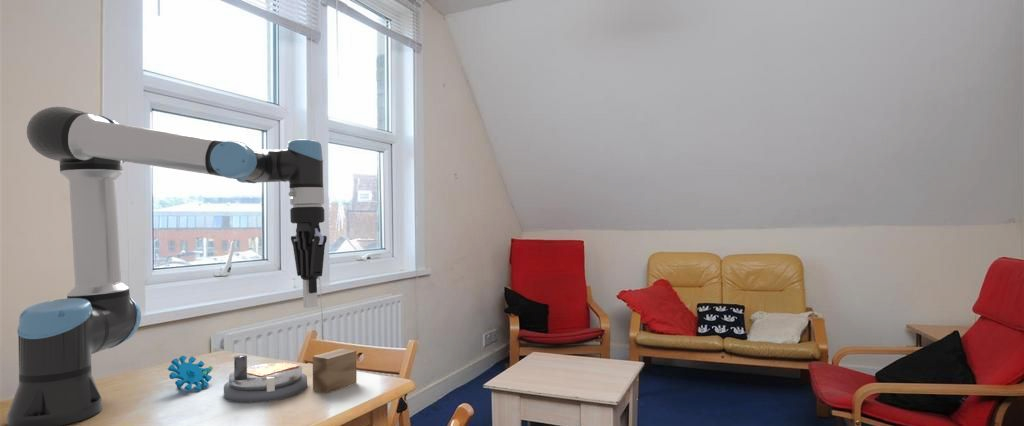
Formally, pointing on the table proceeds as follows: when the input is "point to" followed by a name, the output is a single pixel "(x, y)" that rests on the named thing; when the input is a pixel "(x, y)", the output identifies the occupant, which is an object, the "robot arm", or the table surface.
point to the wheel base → (265, 391)
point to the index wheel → (262, 374)
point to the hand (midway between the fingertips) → (310, 306)
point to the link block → (334, 370)
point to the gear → (190, 373)
